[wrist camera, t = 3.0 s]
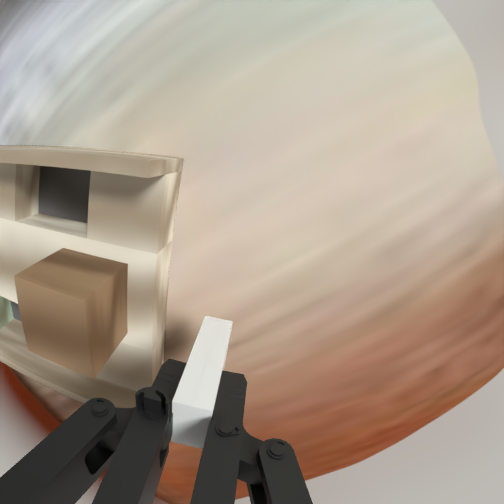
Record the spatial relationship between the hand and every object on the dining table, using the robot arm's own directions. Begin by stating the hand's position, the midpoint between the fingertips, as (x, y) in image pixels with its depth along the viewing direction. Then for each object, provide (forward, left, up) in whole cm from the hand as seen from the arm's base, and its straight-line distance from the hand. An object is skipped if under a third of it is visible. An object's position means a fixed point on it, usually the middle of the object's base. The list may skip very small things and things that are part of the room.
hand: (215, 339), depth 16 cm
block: (0, -9, -2) cm, 9 cm away
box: (0, -16, -5) cm, 17 cm away
